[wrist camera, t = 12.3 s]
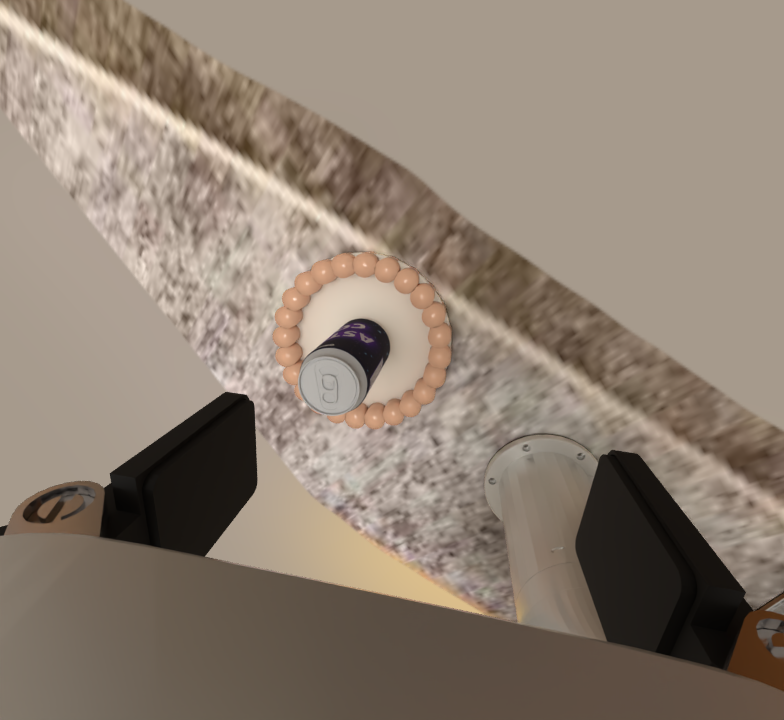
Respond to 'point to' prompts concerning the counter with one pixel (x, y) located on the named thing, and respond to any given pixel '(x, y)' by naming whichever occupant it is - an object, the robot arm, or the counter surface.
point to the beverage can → (344, 367)
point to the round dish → (385, 307)
